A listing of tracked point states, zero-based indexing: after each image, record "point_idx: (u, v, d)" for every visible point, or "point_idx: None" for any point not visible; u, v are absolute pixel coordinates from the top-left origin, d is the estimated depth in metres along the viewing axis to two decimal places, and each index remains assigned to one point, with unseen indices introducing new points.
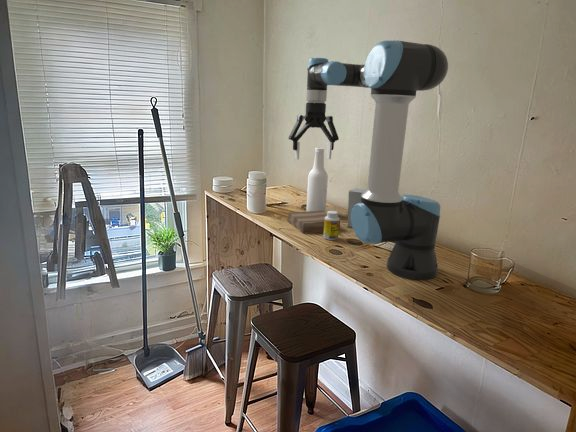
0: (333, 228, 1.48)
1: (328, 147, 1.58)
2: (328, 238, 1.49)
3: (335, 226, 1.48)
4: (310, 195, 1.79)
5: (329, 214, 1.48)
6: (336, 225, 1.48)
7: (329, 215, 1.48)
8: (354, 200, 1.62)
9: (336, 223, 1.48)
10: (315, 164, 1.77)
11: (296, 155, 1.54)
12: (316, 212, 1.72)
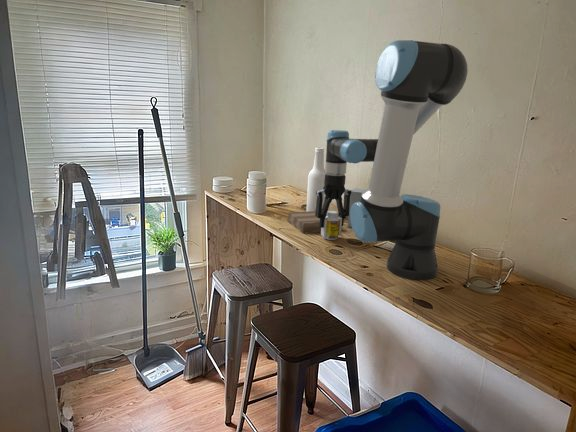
0: (333, 228, 1.48)
1: None
2: (328, 238, 1.49)
3: (335, 226, 1.48)
4: (310, 195, 1.79)
5: (329, 214, 1.48)
6: (336, 225, 1.48)
7: (329, 215, 1.48)
8: (354, 200, 1.62)
9: (336, 223, 1.48)
10: (315, 164, 1.77)
11: (323, 232, 1.49)
12: None
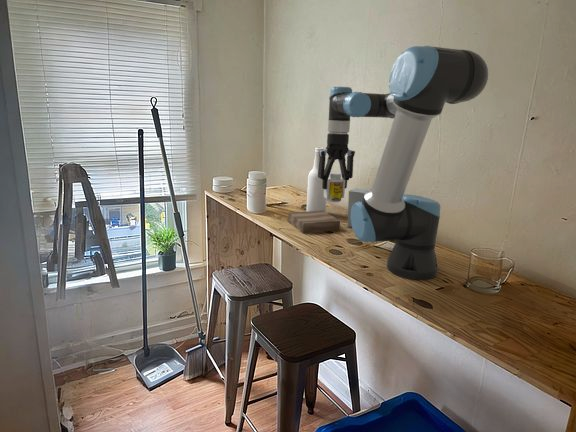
0: (336, 190, 1.44)
1: None
2: (331, 200, 1.45)
3: (339, 188, 1.44)
4: (310, 195, 1.79)
5: (332, 175, 1.44)
6: (339, 186, 1.44)
7: (332, 176, 1.44)
8: (354, 200, 1.62)
9: (339, 185, 1.44)
10: (315, 164, 1.77)
11: (326, 194, 1.45)
12: (316, 212, 1.72)
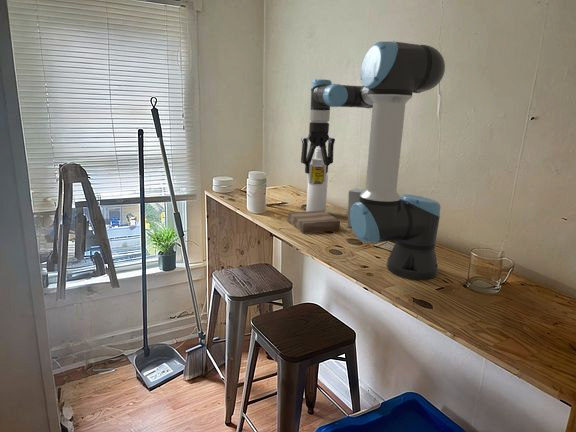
0: (318, 174, 1.57)
1: None
2: (313, 183, 1.59)
3: (320, 172, 1.58)
4: (310, 195, 1.79)
5: (314, 160, 1.57)
6: (320, 171, 1.58)
7: (314, 161, 1.57)
8: (354, 200, 1.62)
9: (320, 169, 1.57)
10: None
11: (308, 178, 1.59)
12: (316, 212, 1.72)
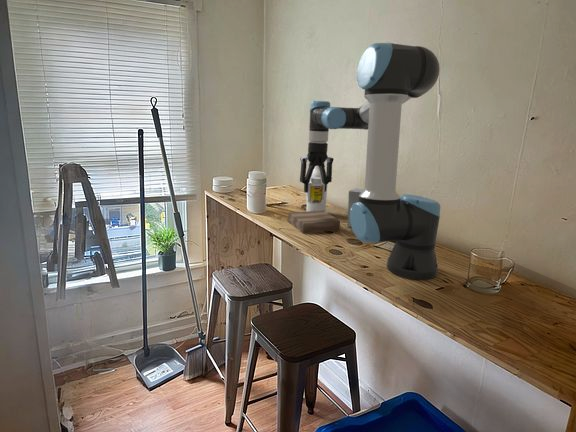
0: (316, 193, 1.60)
1: None
2: (312, 202, 1.61)
3: (318, 191, 1.60)
4: None
5: (312, 179, 1.59)
6: (319, 190, 1.60)
7: (312, 180, 1.59)
8: (354, 200, 1.62)
9: (319, 188, 1.59)
10: None
11: (307, 197, 1.61)
12: (316, 212, 1.72)
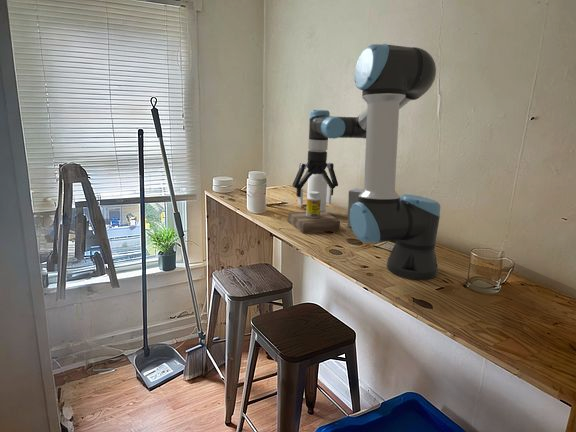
0: (315, 207, 1.61)
1: (328, 192, 1.64)
2: (310, 216, 1.62)
3: (317, 205, 1.61)
4: None
5: (311, 194, 1.61)
6: (317, 204, 1.61)
7: (311, 195, 1.61)
8: (354, 200, 1.62)
9: (317, 202, 1.61)
10: None
11: (299, 201, 1.60)
12: None
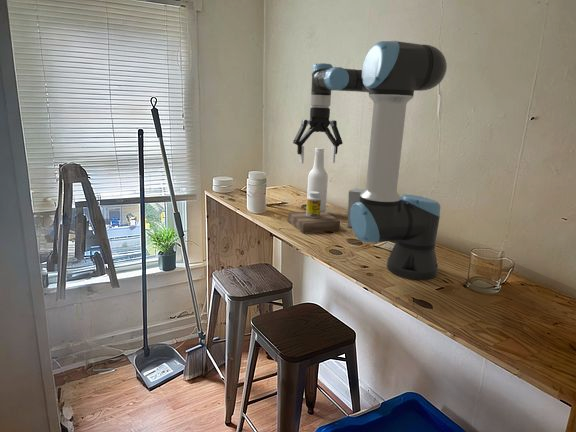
0: (315, 207, 1.61)
1: (332, 151, 1.60)
2: (310, 216, 1.62)
3: (317, 205, 1.61)
4: None
5: (311, 194, 1.61)
6: (317, 204, 1.61)
7: (311, 195, 1.61)
8: (354, 200, 1.62)
9: (317, 202, 1.61)
10: (315, 164, 1.77)
11: (300, 159, 1.56)
12: None
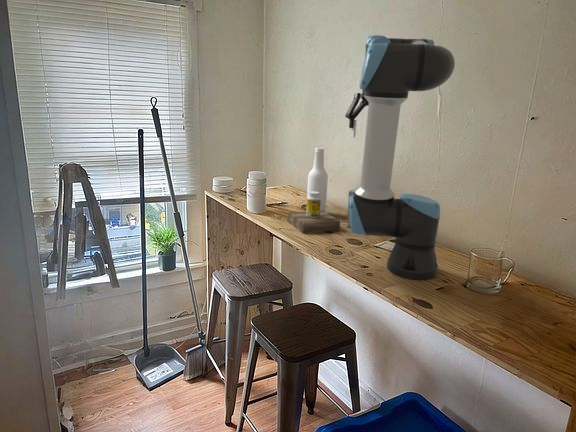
0: (315, 207, 1.61)
1: None
2: (310, 216, 1.62)
3: (317, 205, 1.61)
4: None
5: (311, 194, 1.61)
6: (317, 204, 1.61)
7: (311, 195, 1.61)
8: None
9: (317, 202, 1.61)
10: (315, 164, 1.77)
11: (352, 133, 1.55)
12: None
